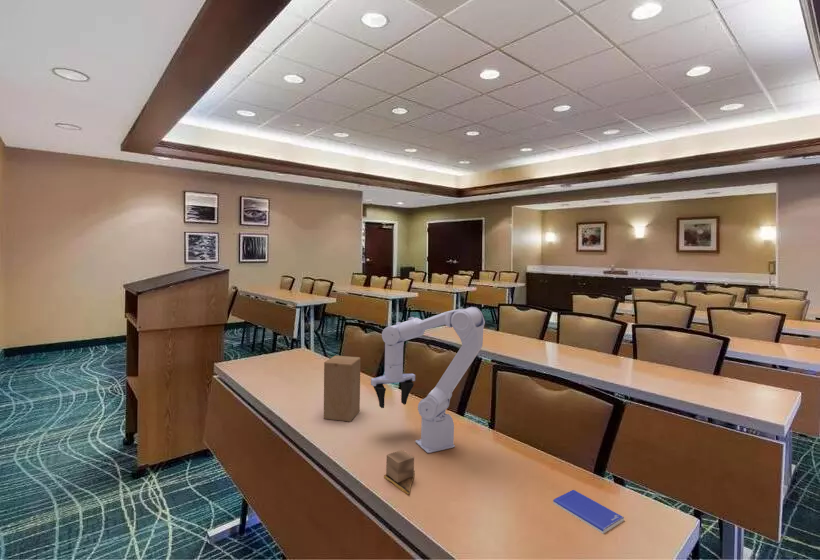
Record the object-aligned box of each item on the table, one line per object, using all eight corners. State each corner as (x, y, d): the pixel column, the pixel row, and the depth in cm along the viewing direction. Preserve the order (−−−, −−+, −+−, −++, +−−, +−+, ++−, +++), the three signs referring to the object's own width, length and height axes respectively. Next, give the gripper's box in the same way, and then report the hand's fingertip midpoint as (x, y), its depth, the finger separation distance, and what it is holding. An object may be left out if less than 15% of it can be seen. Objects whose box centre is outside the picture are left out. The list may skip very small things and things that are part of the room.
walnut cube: (401, 467, 108) (402, 449, 108) (413, 476, 104) (414, 457, 104) (386, 473, 105) (386, 454, 105) (397, 482, 101) (398, 463, 101)
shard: (409, 498, 98) (409, 491, 97) (377, 495, 99) (377, 487, 99) (415, 474, 108) (415, 468, 108) (387, 471, 109) (387, 465, 109)
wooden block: (350, 422, 139) (351, 364, 138) (322, 419, 141) (323, 361, 140) (360, 411, 149) (361, 357, 148) (334, 408, 151) (334, 355, 150)
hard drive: (624, 516, 90) (574, 488, 101) (603, 529, 86) (553, 499, 96) (623, 523, 90) (573, 495, 101) (602, 536, 86) (552, 505, 96)
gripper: (408, 357, 136) (407, 397, 137) (367, 362, 130) (366, 404, 130) (418, 363, 130) (417, 405, 131) (376, 367, 123) (375, 412, 124)
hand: (392, 405), depth 130 cm, fingers open, 7 cm apart
